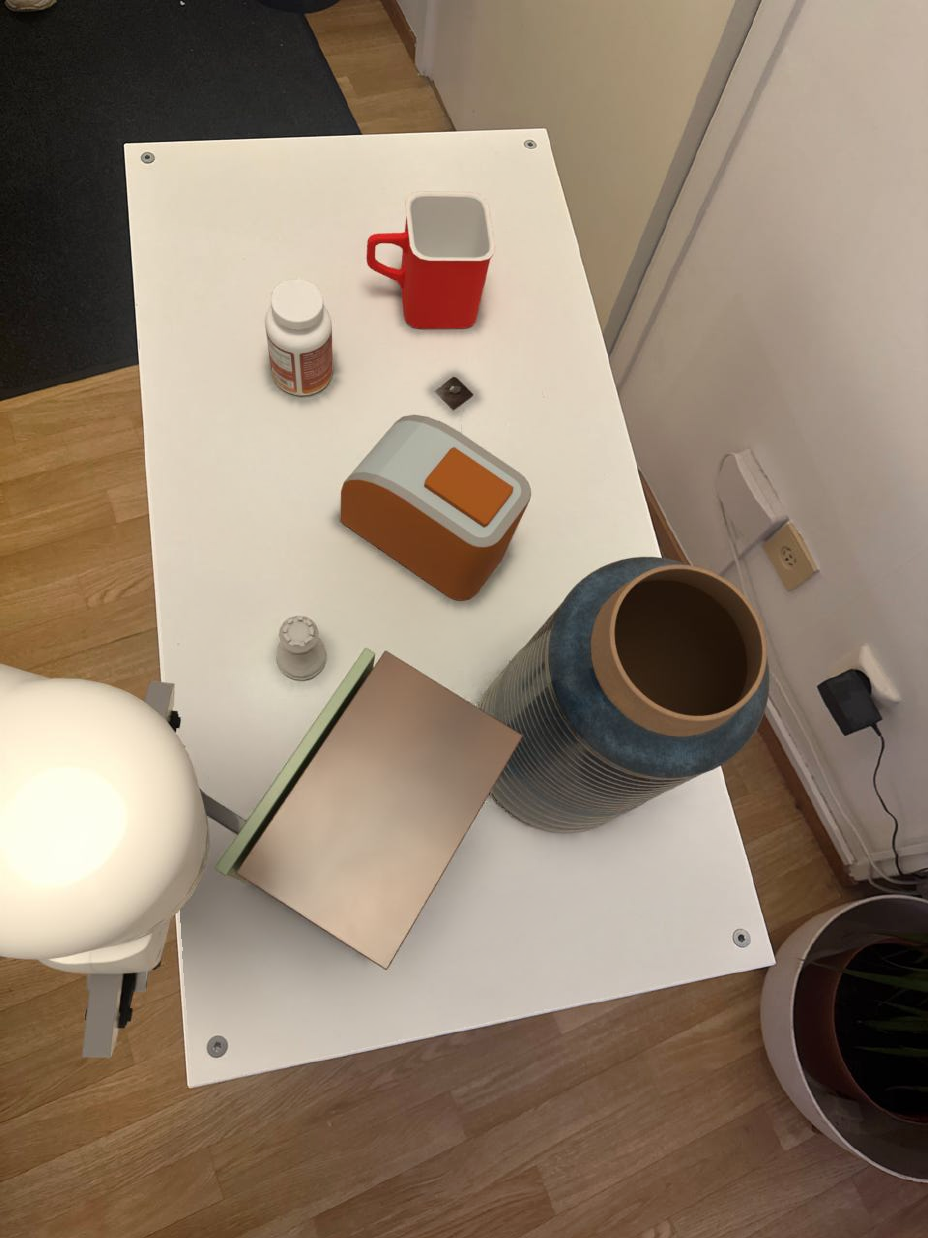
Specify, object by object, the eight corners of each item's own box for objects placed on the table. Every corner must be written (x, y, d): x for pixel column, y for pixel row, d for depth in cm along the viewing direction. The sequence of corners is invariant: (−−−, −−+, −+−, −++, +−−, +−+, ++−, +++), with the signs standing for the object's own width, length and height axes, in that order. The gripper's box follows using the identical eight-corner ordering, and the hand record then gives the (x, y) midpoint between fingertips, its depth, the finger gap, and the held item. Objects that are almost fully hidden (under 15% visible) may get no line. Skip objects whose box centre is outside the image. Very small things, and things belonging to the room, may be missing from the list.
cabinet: (255, 880, 73) (205, 854, 44) (348, 739, 78) (358, 632, 49) (365, 950, 73) (386, 970, 44) (452, 804, 78) (523, 735, 49)
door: (170, 836, 54) (137, 819, 45) (301, 652, 59) (295, 603, 49) (244, 883, 54) (225, 876, 44) (369, 695, 58) (376, 653, 49)
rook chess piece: (333, 642, 81) (333, 614, 73) (317, 687, 79) (315, 663, 72) (286, 628, 81) (281, 598, 73) (269, 672, 79) (262, 647, 72)
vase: (664, 814, 80) (859, 753, 50) (491, 850, 77) (590, 806, 47) (619, 644, 85) (773, 497, 55) (454, 671, 82) (524, 530, 52)
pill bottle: (333, 347, 91) (333, 273, 80) (331, 399, 89) (331, 330, 79) (271, 344, 90) (263, 268, 80) (269, 396, 88) (260, 325, 78)
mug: (471, 267, 97) (487, 191, 87) (480, 330, 94) (497, 260, 84) (361, 266, 95) (364, 189, 85) (367, 331, 92) (371, 260, 82)
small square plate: (453, 410, 91) (453, 404, 89) (434, 391, 91) (434, 385, 90) (473, 394, 91) (474, 388, 90) (454, 375, 92) (455, 369, 90)
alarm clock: (513, 544, 87) (544, 479, 74) (465, 609, 84) (489, 553, 71) (391, 460, 88) (400, 382, 75) (339, 521, 85) (340, 451, 72)
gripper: (49, 616, 36) (105, 708, 51) (-58, 1094, 30) (42, 1033, 46) (238, 640, 37) (237, 722, 53) (171, 1098, 32) (191, 1037, 47)
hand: (146, 866), depth 49 cm, fingers open, 9 cm apart
